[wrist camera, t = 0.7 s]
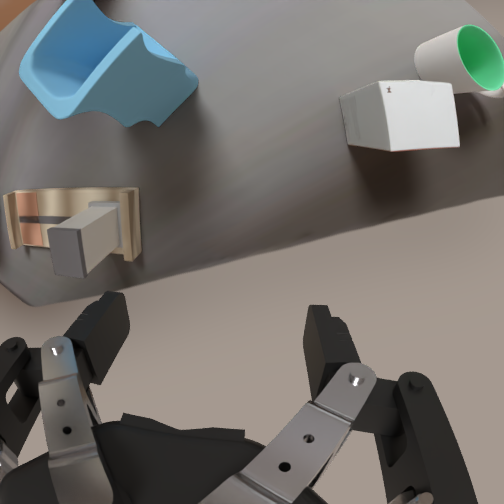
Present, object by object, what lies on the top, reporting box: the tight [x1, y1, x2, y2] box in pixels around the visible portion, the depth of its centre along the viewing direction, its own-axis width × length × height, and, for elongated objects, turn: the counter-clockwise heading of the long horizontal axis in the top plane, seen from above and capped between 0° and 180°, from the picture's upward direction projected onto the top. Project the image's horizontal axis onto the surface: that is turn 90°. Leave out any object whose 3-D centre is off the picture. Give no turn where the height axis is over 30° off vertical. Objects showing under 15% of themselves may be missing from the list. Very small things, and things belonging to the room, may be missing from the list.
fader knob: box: [47, 201, 123, 279], centre depth 31 cm, size 5×6×11 cm
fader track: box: [3, 187, 142, 261], centre depth 36 cm, size 24×9×4 cm, turn 86°
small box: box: [339, 80, 460, 152], centre depth 26 cm, size 8×6×13 cm
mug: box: [414, 25, 504, 98], centre depth 24 cm, size 12×8×10 cm
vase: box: [19, 0, 198, 127], centre depth 22 cm, size 8×8×20 cm
